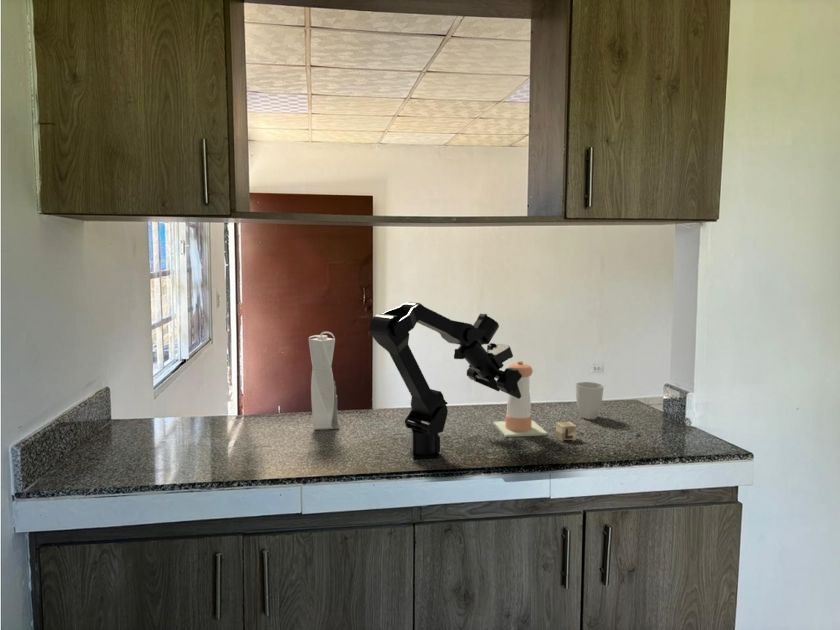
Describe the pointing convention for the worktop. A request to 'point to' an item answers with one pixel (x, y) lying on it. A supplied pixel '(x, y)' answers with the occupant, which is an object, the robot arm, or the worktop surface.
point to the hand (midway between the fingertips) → (509, 393)
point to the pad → (534, 431)
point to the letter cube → (565, 431)
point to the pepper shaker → (520, 401)
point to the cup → (589, 399)
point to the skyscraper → (323, 383)
